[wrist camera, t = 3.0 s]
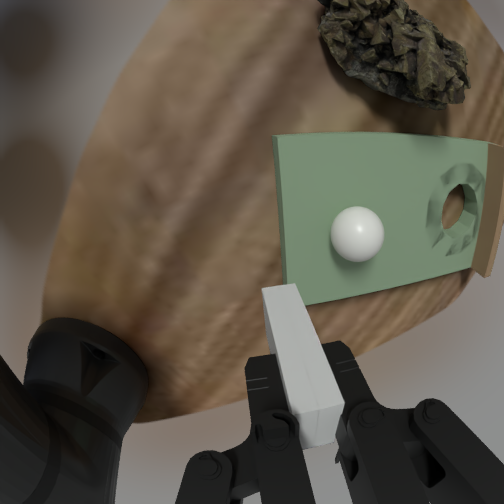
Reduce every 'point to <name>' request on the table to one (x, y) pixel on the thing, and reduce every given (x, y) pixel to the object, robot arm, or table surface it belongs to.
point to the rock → (395, 51)
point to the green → (385, 207)
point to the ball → (357, 234)
